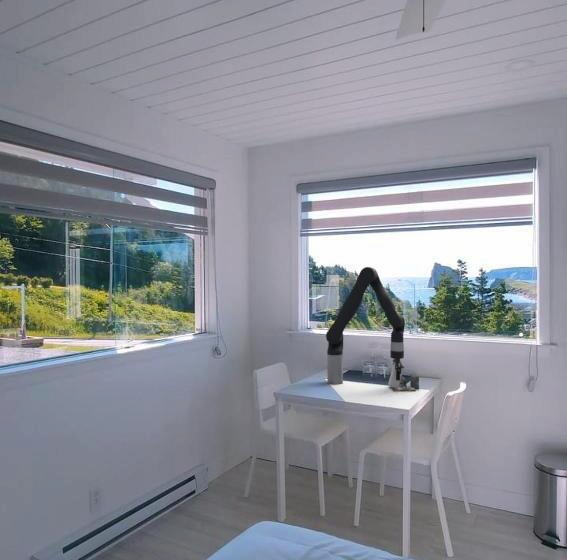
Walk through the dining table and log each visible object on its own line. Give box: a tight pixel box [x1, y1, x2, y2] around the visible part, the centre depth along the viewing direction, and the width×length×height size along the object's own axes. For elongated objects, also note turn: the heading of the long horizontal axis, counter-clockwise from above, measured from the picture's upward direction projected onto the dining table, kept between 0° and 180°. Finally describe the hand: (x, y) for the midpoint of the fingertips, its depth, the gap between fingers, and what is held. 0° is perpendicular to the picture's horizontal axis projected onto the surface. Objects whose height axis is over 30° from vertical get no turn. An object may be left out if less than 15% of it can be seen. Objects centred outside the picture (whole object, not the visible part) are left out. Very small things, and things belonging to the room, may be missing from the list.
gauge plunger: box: [400, 376, 408, 389], centre depth 277 cm, size 1×12×4 cm, turn 178°
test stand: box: [391, 373, 420, 392], centre depth 276 cm, size 15×13×7 cm
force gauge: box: [387, 364, 405, 388], centre depth 279 cm, size 7×5×13 cm
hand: (397, 379), depth 279 cm, fingers closed on force gauge, 5 cm apart
